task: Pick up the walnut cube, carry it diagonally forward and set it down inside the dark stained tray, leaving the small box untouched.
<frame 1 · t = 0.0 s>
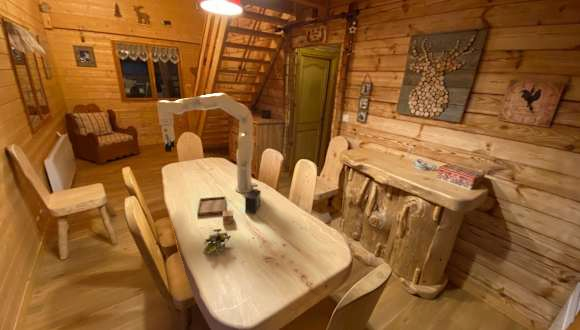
hand: (170, 149, 147), 31 cm above the table, fingers open, 9 cm apart
walnut cube: (228, 221, 132), on the table
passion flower: (218, 249, 110), on the table
small box: (253, 209, 145), on the table
walnut tray: (212, 207, 145), on the table
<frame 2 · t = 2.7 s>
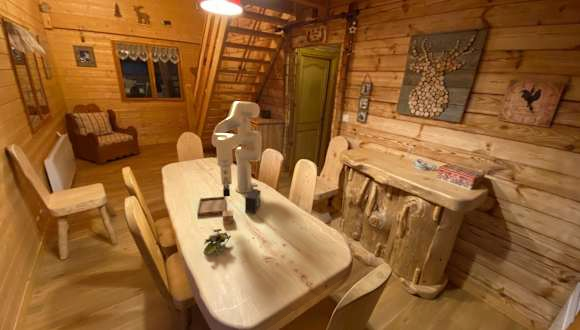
hand: (226, 191, 125), 18 cm above the table, fingers open, 9 cm apart
nothing on the table moved.
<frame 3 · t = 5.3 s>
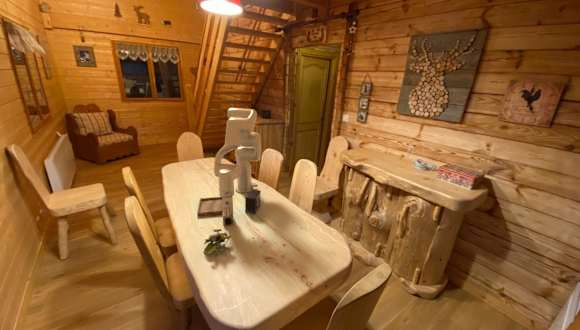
hand: (228, 220, 131), 1 cm above the table, fingers closed on walnut cube, 5 cm apart
walnut cube: (228, 221, 131), on the table, touching gripper
everything else where it was.
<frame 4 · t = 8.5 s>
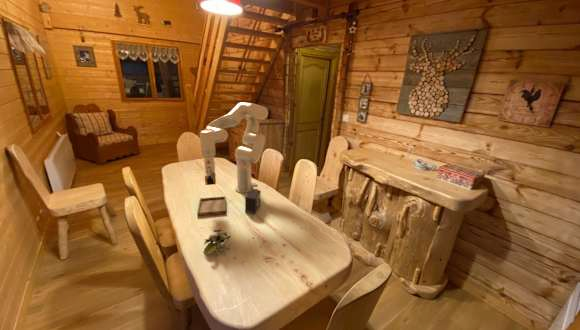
hand: (210, 181, 139), 17 cm above the table, fingers closed on walnut cube, 5 cm apart
walnut cube: (210, 182, 139), point 17 cm above the table, touching gripper
everything else where it was.
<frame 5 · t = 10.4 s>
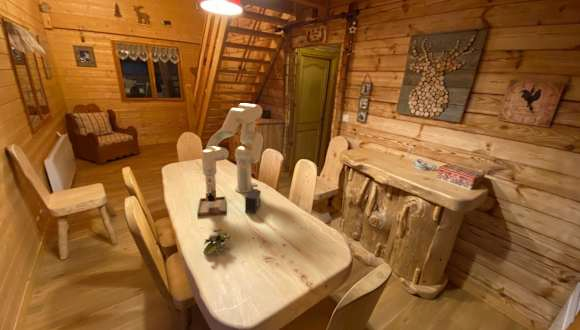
hand: (211, 198, 142), 6 cm above the table, fingers closed on walnut cube, 5 cm apart
walnut cube: (211, 199, 142), point 6 cm above the table, touching gripper
everything else where it was.
when the fingers open (4 cm above the table, at t = 11.9 s): walnut cube drops 2 cm, resting on walnut tray.
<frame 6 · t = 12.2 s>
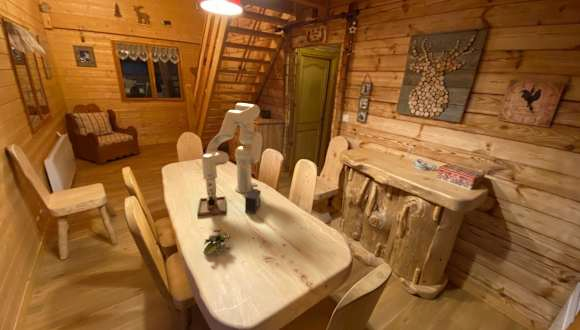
hand: (212, 201, 143), 4 cm above the table, fingers open, 9 cm apart
walnut cube: (212, 205, 144), point 1 cm above the table, touching walnut tray
everything else where it was.
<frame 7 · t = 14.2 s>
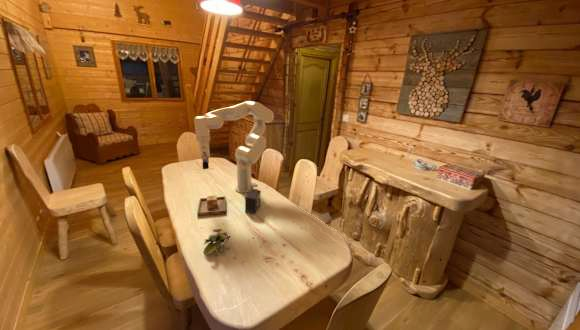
hand: (205, 165, 142), 24 cm above the table, fingers open, 9 cm apart
nothing on the table moved.
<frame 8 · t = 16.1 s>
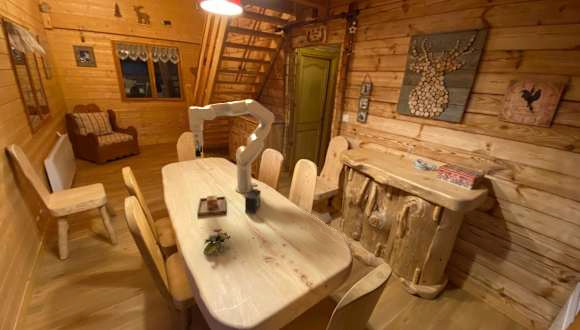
hand: (199, 154, 150), 28 cm above the table, fingers open, 9 cm apart
nothing on the table moved.
at the end: walnut cube inside the target area on the walnut tray (0.0 cm from its centre), point 1.2 cm above the walnut tray's base; walnut cube tilted 0°; the gripper is holding nothing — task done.
